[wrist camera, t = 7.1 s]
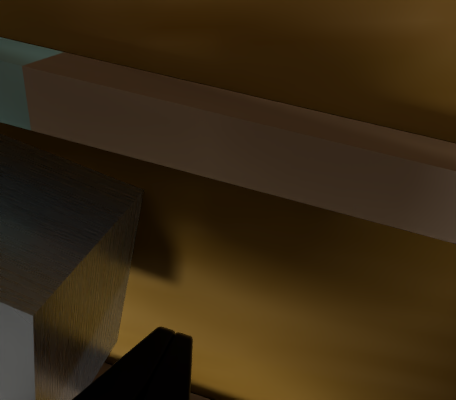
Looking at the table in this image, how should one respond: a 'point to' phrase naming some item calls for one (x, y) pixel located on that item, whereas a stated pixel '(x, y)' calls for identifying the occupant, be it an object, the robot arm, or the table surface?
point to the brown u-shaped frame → (233, 139)
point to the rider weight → (60, 270)
